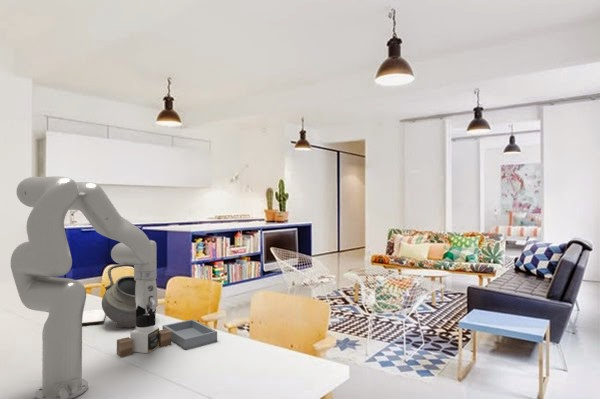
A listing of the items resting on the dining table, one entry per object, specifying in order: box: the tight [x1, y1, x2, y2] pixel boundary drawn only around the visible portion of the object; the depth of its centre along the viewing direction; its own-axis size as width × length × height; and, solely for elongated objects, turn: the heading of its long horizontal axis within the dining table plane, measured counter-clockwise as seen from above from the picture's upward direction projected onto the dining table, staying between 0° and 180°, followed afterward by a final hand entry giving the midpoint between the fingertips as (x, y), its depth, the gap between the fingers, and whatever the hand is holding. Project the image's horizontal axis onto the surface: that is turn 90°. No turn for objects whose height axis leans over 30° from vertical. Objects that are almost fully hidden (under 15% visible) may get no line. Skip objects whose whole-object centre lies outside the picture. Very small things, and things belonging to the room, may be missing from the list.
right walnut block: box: [158, 329, 172, 348], centre depth 148 cm, size 4×4×5 cm
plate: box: [82, 308, 106, 326], centre depth 176 cm, size 19×19×2 cm
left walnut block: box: [116, 336, 134, 358], centre depth 139 cm, size 4×4×5 cm
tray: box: [161, 318, 218, 351], centre depth 155 cm, size 20×13×4 cm, turn 41°
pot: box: [101, 263, 150, 329], centre depth 172 cm, size 21×21×25 cm
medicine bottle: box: [129, 314, 160, 354], centre depth 144 cm, size 7×7×12 cm
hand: (145, 322), depth 144 cm, fingers open, 9 cm apart
